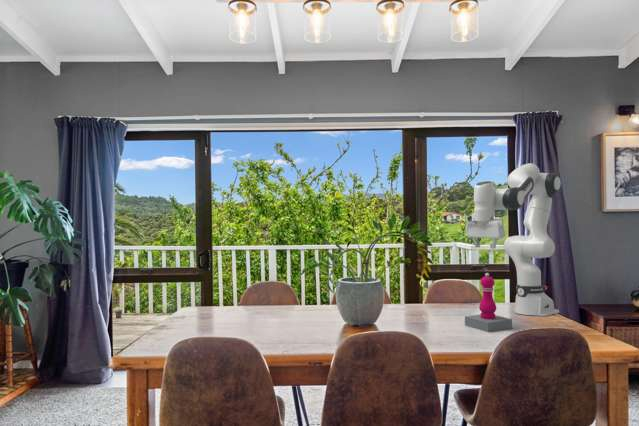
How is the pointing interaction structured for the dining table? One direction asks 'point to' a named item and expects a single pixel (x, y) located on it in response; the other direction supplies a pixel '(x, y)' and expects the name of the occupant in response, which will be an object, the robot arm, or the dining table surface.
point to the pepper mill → (487, 298)
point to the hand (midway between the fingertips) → (485, 247)
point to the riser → (488, 323)
